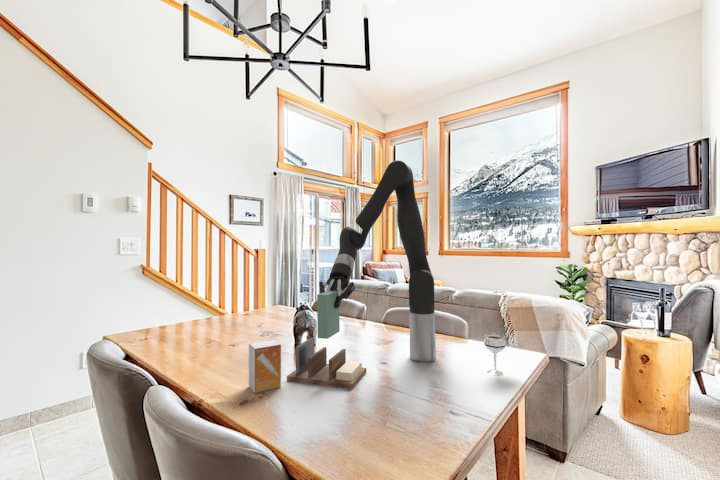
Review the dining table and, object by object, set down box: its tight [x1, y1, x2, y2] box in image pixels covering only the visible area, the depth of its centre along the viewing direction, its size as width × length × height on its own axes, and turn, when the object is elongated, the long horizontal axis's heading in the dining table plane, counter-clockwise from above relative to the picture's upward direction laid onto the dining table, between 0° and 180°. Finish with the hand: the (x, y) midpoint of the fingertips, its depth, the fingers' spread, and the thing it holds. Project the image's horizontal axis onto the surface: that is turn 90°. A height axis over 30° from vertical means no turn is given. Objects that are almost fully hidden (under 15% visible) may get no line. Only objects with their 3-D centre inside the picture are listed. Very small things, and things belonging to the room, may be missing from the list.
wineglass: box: [483, 333, 507, 376], centre depth 113 cm, size 7×7×12 cm
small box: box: [248, 339, 282, 394], centre depth 104 cm, size 8×6×13 cm
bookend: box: [295, 337, 315, 376], centre depth 114 cm, size 1×11×9 cm, turn 162°
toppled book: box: [336, 360, 363, 381], centre depth 109 cm, size 5×10×2 cm, turn 162°
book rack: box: [286, 346, 367, 390], centre depth 111 cm, size 22×14×8 cm, turn 72°
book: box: [316, 291, 341, 340], centre depth 115 cm, size 4×10×14 cm, turn 161°
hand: (329, 307), depth 116 cm, fingers closed on book, 3 cm apart
